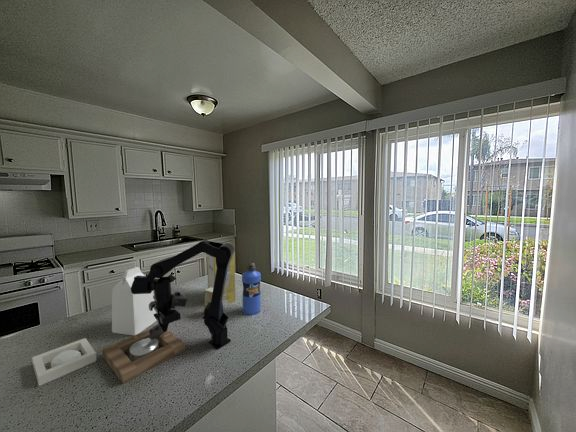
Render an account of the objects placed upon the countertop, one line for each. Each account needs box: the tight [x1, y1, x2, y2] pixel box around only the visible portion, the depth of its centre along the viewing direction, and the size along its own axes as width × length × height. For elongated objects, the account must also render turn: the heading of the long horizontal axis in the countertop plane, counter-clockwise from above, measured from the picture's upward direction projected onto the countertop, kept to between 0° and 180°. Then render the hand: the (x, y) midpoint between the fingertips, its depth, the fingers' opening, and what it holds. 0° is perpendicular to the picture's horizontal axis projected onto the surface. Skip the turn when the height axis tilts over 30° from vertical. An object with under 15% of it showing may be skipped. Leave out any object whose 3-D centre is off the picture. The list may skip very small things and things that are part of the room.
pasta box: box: [206, 250, 236, 305], centre depth 133 cm, size 18×10×28 cm, turn 31°
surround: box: [101, 329, 186, 385], centre depth 86 cm, size 20×20×3 cm
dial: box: [129, 323, 165, 362], centre depth 88 cm, size 14×9×7 cm, turn 162°
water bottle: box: [241, 261, 262, 316], centre depth 118 cm, size 9×9×25 cm
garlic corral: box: [31, 337, 97, 387], centre depth 81 cm, size 14×14×3 cm
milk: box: [111, 266, 157, 336], centre depth 103 cm, size 12×12×26 cm
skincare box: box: [204, 287, 213, 308], centre depth 116 cm, size 6×4×12 cm
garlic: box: [50, 350, 82, 368], centre depth 81 cm, size 8×7×4 cm
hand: (165, 331), depth 92 cm, fingers closed
